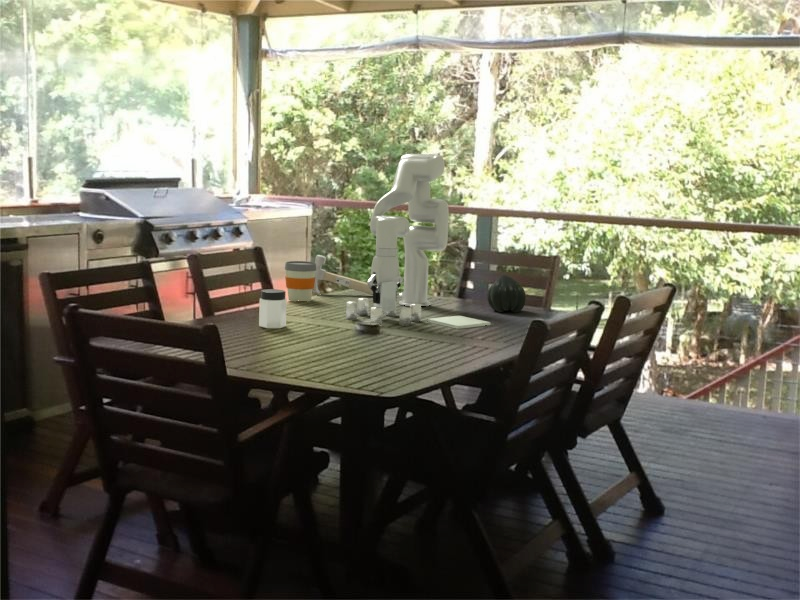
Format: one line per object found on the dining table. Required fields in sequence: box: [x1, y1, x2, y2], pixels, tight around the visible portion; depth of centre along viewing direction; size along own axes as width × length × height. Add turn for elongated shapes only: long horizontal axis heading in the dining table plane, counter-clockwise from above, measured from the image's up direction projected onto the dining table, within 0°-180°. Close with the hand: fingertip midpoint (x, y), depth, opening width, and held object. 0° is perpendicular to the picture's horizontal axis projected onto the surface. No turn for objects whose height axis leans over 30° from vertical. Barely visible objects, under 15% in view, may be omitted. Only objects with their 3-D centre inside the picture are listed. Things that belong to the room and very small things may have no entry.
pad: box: [426, 315, 491, 330], centre depth 323 cm, size 16×16×1 cm
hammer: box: [313, 254, 374, 296], centre depth 381 cm, size 16×5×30 cm
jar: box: [258, 288, 287, 329], centre depth 302 cm, size 9×8×12 cm
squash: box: [486, 274, 527, 313], centre depth 356 cm, size 14×15×15 cm
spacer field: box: [345, 297, 422, 327], centre depth 324 cm, size 28×22×6 cm
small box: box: [373, 281, 397, 313], centre depth 323 cm, size 8×6×10 cm
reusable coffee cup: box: [284, 260, 316, 302], centre depth 361 cm, size 12×13×15 cm
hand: (384, 302), depth 324 cm, fingers closed on small box, 6 cm apart
